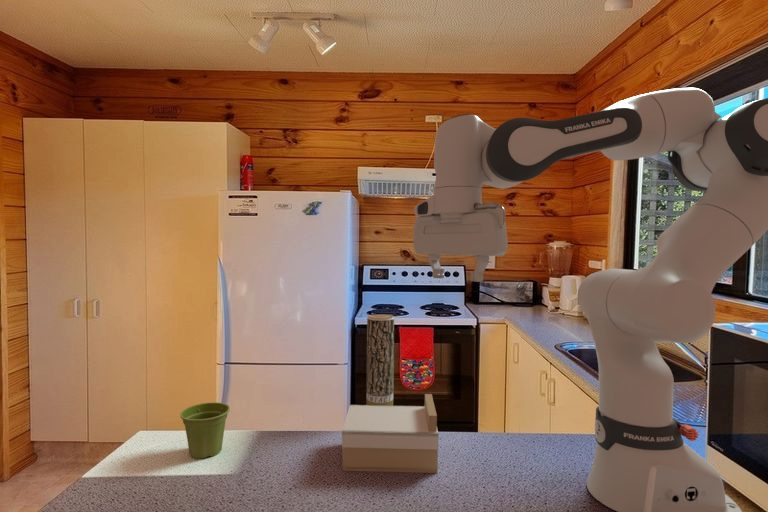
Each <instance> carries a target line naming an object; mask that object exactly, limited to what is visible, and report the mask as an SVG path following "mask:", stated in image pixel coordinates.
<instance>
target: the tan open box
mask: <svg viewBox="0 0 768 512" xmlns="http://www.w3.org/2000/svg"><path fill="white" fill-rule="evenodd" d="M438 451H439V449H438V450H434V449H391V448H349V447H342V459H341V460H342V464H341V465H342V468H341V469H342V471H343V472H345V471H346V472H377V473H378V472H383V473H413V474H414V473H415V474H416V473H419V474H425V473H426V474H438V463H439V462H438V460H439V459H438V458H439V454H438Z"/></svg>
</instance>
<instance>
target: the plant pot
mask: <svg viewBox="0 0 768 512" xmlns="http://www.w3.org/2000/svg"><path fill="white" fill-rule="evenodd" d="M230 410H231V407H230V405H228V404H227V403H223V402H213V401H211V402H204V403H203V402H202V403H199V404H195V405H194V404H193V405H192V406H188V407H186V408H185V409H183V410H182V411H181V412H180V413H179V415H180V419H182V423H183V425H184V429H185V434H186V439H187V446H188V452H189V455H190V457H191V458H194V459H200V460H201V459H205V458H207V457H213V456H214V457H215V456H216V455H218V454H219V453H221V452H222V448H223V442H224V441H223V440H224V434H225V426H226V419H227V418H228V415H229V414H228V413H229V412H230Z"/></svg>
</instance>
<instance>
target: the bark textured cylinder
mask: <svg viewBox="0 0 768 512" xmlns="http://www.w3.org/2000/svg"><path fill="white" fill-rule="evenodd" d="M366 320H367V321H366V405H387V406H394V381H395V380H394V376H395V375H394V369H395V368H394V367H395V365H394V364H395V363H394V362H395V316H394V315H392V314H383V313H382V314H377V313H376V314H370V315H367V318H366Z"/></svg>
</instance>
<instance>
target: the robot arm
mask: <svg viewBox="0 0 768 512" xmlns="http://www.w3.org/2000/svg"><path fill="white" fill-rule="evenodd" d="M433 151H434V153H433V169H434V172H435V181H434V185H433V194H432V195H431V196H428V198H427V199H424V200H423V201H421V202H419V203H417V204H416V205H415V206H414V209H413V211H414V215H415V216H416V219H415V221H414V224H413V236H412V237H413V238H412V239H413V249H414V251H415V253H416V254H417V255H427V261H428V263H429V265H430V267H431V269H432V278H433V279H444V277H445V268H442V267H441V263H440V261H441V255H443V256H444V255H447V256H448V255H449V256H475V259H474V261H475V263H477V264H476V265H475V266H476V267H475V268H474V271H470V281H471V282H476V283H479V282H483V281H484V272H485V270H486V269H487V267H488V265H489V263H490V257H503V256H505V254H506V253H507V251H508V249H509V248H508V247H509V246H508V245H509V244H508V231H507V226H506V209H505V208H504V207H503V205H501V204H499V203H498V202H495V201H492V202H483V186H484V187H490V188H496V189H502V190H503V189H509V188H512V187H515V186H517V185H519V184H522V183H524V182H525V181H529V180H532V179H535V178H536V177H537V176H540V175H541V174H542V173H544V172H545V171H546V170H547V169H548V168H550V167H551V166H553V164H556V162H559V161H562V160H565V159H566V160H567V159H570V158H574V157H578V156H583V155H584V156H585V155H587V154H591V153H597V152H601V153H602V154H603V156H605V157H606V158H607V159H609V160H612V161H614V162H615V161H627V160H629V161H631V160H637V159H641V158H648V157H650V156H655V155H659V154H661V153H666V152H668V153H667V160H668V162H669V163H670V164H671V166H670V167H671V169H672V171H673V175H674V176H675V178H676V180H677V181H678V182H679V183H680V184H681V185H682V186H683V187H684V188H686V189H688V190H690V191H695V192H704V194H703V195H702V196H701V198H700V199H699V200H697V201H696V202H695V203H694V204H693V205H692V206H690V207H689V208H688V209H686V211H685V212H683V213H682V214H681V215H680V216H679V217H678V218H676V220H675V221H674V222H673V223H671V224H670V225H669V226H668V227H667V228H666V229H665V230H663V232H661V233H660V235H659V236H658V237H657V240H656V250H657V252H656V254H655V256H654V258H653V260H652V261H651V262H650V263H649V264H647V265H646V266H644V267H641V268H639V269H626V268H608V269H602V270H599V271H596V272H593V273H591V274H589V275H587V276H586V277H585V278H584V279H582V281H581V283H580V284H579V287H578V289H577V302H578V305H579V308H580V309H581V311H582V312H583V313H584V315H585V317H586V319H587V322H588V324H589V327H590V331H591V336H592V339H593V343H594V348H595V352H596V358H597V365H598V366H597V367H598V406H597V407H596V408H595V420H594V435H595V437H594V438H595V439H594V440H595V441H596V443H595V449H594V450H595V451H594V457H593V462H592V466H591V471H590V473H589V476H588V478H587V481H586V487H587V490H588V492H589V493H590V494H591V496H592V497H593V498H594V499H595V500H596V501H599V503H600V504H602V505H605V506H606V507H608V508H609V509H611V510H614V511H616V512H743V511H742V509H741V508H740V506H739V505H738V504H737V503H736V502H735V501H734V500H733V499H732V497H730V496H729V495H727V494H726V492H725V486H724V483H723V480H722V477H721V475H720V473H719V472H718V470H717V469H716V468H715V467H714V466H713V465H712V464H711V463H709V461H708V460H706V459H705V458H704V457H703V456H702V455H700V454H699V453H698V452H696V451H695V450H694V449H693V448H692V447H690V446H689V445H688V444H687V443H686V442H685V441H684V439H683V437H684V438H686V439H687V440H688V441H690V442H693V441H694V442H695V441H696V440H697V439H699V432H698V431H697V429H696V428H693V427H691V426H690V425H689V424H682V423H681V422H680V421H679V420H677V419H676V418H674V416H673V415H674V413H673V412H674V382H675V380H674V375H673V373H672V370H671V368H670V366H669V365H668V364H667V363H666V361H665V360H664V358H663V357H662V355H661V353H660V351H659V348H658V346H657V343H666V344H690V343H694V342H697V341H699V340H701V339H702V338H703V337H705V336H706V335H707V334H708V333H709V331H710V330H711V328H712V326H713V324H714V321H715V318H716V313H717V312H716V311H717V310H716V304H715V298H713V294H712V292H713V289H714V288H715V285H716V284H717V282H718V281H719V279H720V278H721V277H722V276H723V275H724V274H725V273H726V271H728V270H729V269H730V268H731V267H732V266H733V265H734V264H735V263H736V262H737V261H738V260H739V259H740V258H741V257H742V256H743V255H744V254H746V253H747V252H748V251H749V250H750V249H751V248H752V247H753V246H754V245H755V244H756V243H757V242H758V241H759V240H760V239H761V237H763V236H764V235H765V234H766V232H767V231H768V97H766V98H760V99H758V100H753V101H751V102H748V103H745V104H743V105H741V106H739V107H737V108H735V109H734V110H733V111H732V112H731V113H729V114H727V115H724V117H722V115H721V114H718V113H717V112H716V107H715V103H714V100H713V98H712V97H711V95H709V94H708V93H707V92H706V91H704V90H702V89H700V88H697V87H682V88H671V89H664V90H658V91H652V92H649V93H648V92H647V93H644V94H643V93H642V94H639V95H636V96H632V97H629V98H626V99H624V100H619V101H618V102H616V103H613V104H611V105H609V106H607V107H605V108H603V109H602V110H599V111H593V112H590V113H587V114H586V113H585V114H581V115H575V116H571V117H567V118H562V119H556V120H543V119H538V118H533V117H532V118H531V117H514V118H512V119H508V120H506V121H505V122H503V123H501V124H500V125H499V126H498V127H497V128H494V127H492V126H491V125H489V124H487V123H486V122H484V121H483V120H482V119H481V118H480V117H479V116H478V115H476V114H471V113H470V114H469V113H464V114H459V115H455V116H452V117H450V118H448V119H446V120H444V121H443V122H442V123H441V124H440V125H439V126H438V127H437V131H436V133H435V140H434V150H433Z"/></svg>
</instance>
